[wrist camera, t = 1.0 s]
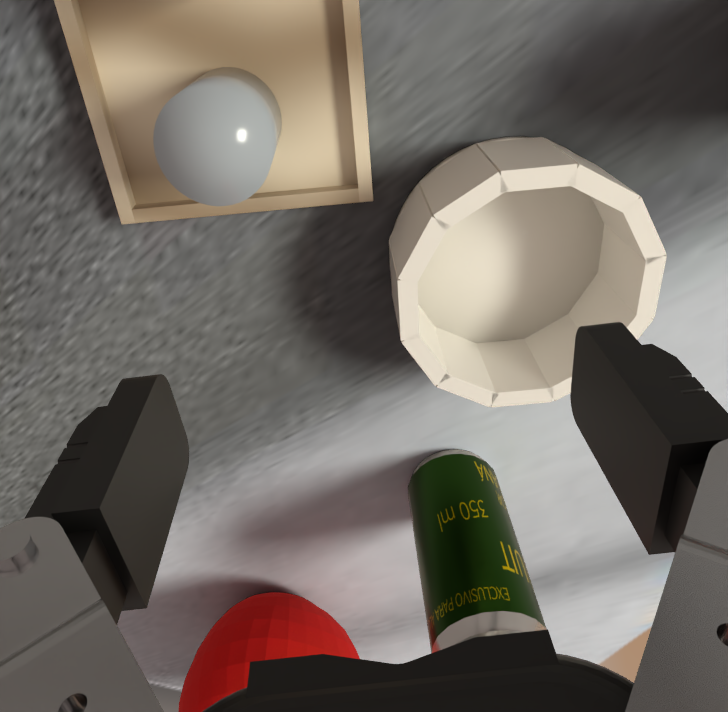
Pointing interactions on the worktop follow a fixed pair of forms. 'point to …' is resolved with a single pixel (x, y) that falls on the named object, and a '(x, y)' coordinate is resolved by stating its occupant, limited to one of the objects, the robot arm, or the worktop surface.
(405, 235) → the bowl
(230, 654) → the red round fruit
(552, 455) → the worktop surface
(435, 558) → the beer can
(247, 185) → the gray metal cylinder
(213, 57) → the parts tray
